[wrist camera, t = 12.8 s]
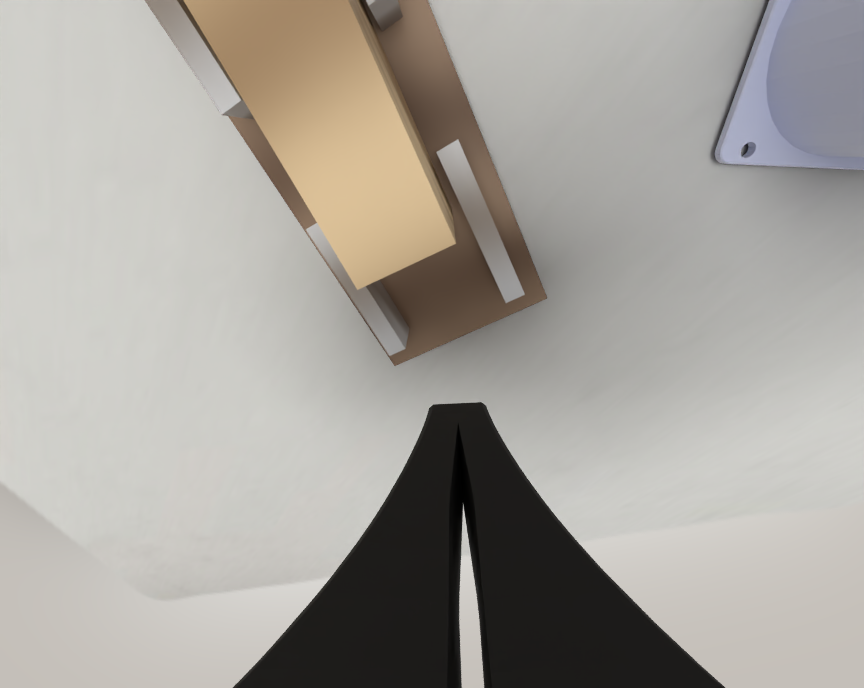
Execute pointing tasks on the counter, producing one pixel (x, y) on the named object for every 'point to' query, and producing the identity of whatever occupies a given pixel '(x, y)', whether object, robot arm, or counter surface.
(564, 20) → the counter surface
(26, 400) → the counter surface
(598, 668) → the robot arm
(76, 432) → the counter surface
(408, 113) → the oak slat
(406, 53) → the board
